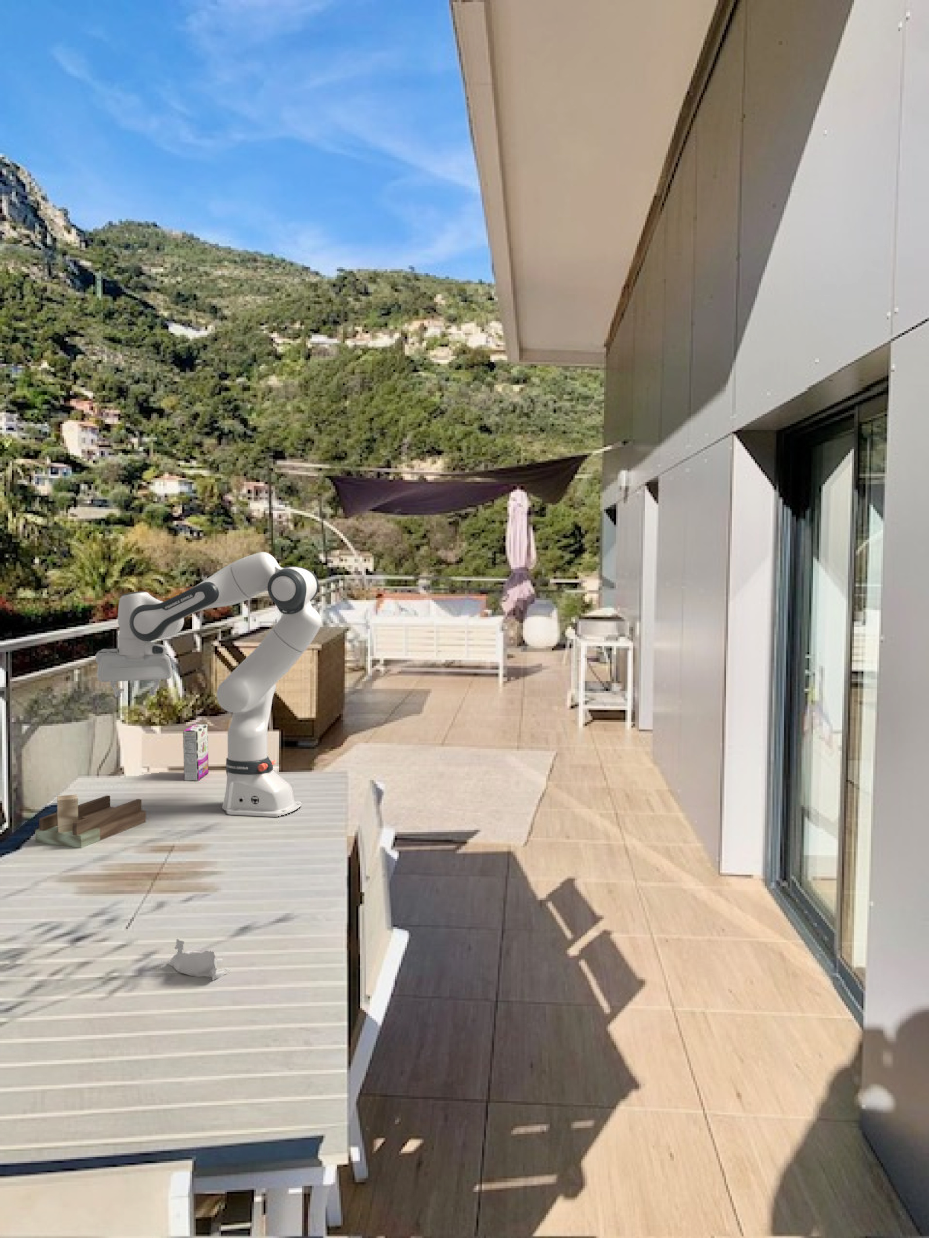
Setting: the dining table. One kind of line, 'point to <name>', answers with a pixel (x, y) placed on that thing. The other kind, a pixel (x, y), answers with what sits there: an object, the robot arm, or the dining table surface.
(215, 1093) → the dining table surface
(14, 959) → the dining table surface
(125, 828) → the channel deck
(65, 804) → the beech block
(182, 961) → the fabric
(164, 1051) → the dining table surface
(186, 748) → the candy bar box
